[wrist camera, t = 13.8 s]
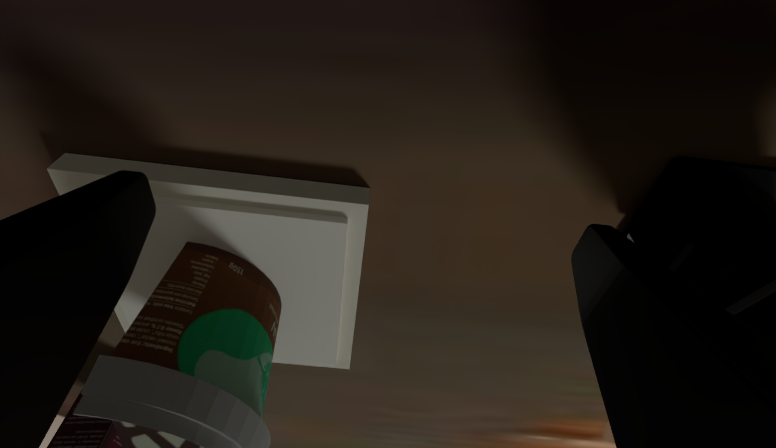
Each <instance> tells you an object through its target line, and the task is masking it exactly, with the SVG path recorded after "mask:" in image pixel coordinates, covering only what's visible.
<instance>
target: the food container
mask: <svg viewBox="0 0 776 448" xmlns="http://www.w3.org/2000/svg"><path fill="white" fill-rule="evenodd" d="M281 306H282V303H281V298H280V295H279V293H278V290H277V288H276V287H275V285H274V284H273V283H272V281H271V280H270V279H269V278H268V277H267V276H266V275H265V274H264V273H263V272H262V271H261V270H259V269H258V268H257V267H256V266H254V265H253V264H251V263H250V262H248V261H246V260H245V259H243V258H241V257H239V256H237V255H235V254H233V253H231V252H228V251H225V250H223V249H220V248H217V247H213V246H209V245H205V244H201V243H194V242H188V241H187V242H186V244H185V245H184V247H183V248H182V250H181V251H180V253H179V254H178V256H177V257H176V259H175V260H174V262H173V263H172V265H171V266H170V268H169V269H168V271H167V272H166V274H165V275H164V276H163V278H162V279H161V281H160V282H159V284H158V285H157V287H156V288H155V290H154V291H153V293H152V294H151V296H150V297H149V299H148V300H147V302H146V303H145V305H144V306H143V308H142V309H141V311H140V312H139V314H138V315H137V317H136V318H135V320H134V321H133V323H132V324H131V326H130V327H129V328H128V330H127V331H126V333H125V334H124V336H123V337H122V339H121V340H120V342H119V343H118V345H117V346H116V348H115V349H114V351H113V352H112V354H111V355H110V356H105V355H99V356H98V358H97V360H96V362H95V364H94V367H93V369H92V371H91V373H90V375H89V377H88V379H87V381H86V383H85V385H84V387H83V389H82V391H81V394H82V395H83V397H82V398H81V400H80V402H79V404H78V405H77V407H76V409H75V411H74V412H73V415H80V416H88V417H97V418H104V419H110V420H111V421H112V423H113V424H114V426H115V428H116V430H117V433H118V436H119V439H120V442H121V445H122V448H269V446H270V437H271V436H270V433H269V430H268V427H267V426H266V424H265V423H264V421H263V420H262V414H263V408H264V403H265V397H266V392H267V386H268V381H269V375H270V370H271V364H272V359H273V353H274V348H275V342H276V337H277V331H278V326H279V320H280V315H281Z"/></svg>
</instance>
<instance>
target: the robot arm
mask: <svg viewBox="0 0 776 448" xmlns="http://www.w3.org/2000/svg"><path fill="white" fill-rule="evenodd" d="M681 165H683V166H682V167H681V168H679V169H677V168H678V167H679V166H681ZM155 215H156V205H155V201H154V198H153V194H152V191H151V187H150V184H149V181H148V178H147V176H146V175H145V174H144V173H142V172H137V171H128V170H120V171H117V172H115V173H112V174H110V175H108V176H105V177H103V178H100V179H98V180H96V181H93V182H91V183H88V184H86V185H84V186H81V187H79V188H77V189H74V190H72V191H69V192H67V193H65V194H62V195H60V196H57V197H55V198H53V199H50V200H48V201H45V202H43V203H41V204H38V205H36V206H34V207H31V208H29V209H26V210H24V211H22V212H19V213H17V214H14V215H12V216H10V217H7V218H5V219H2V220H0V448H39V446H40V445H41V443H42V441H43V439H44V437H45V435H46V434H47V432H48V430H49V428H50V426H51V424H52V423H53V421H54V419H55V417H56V415H57V413H58V412H59V410H60V408H61V406H62V404H63V402H64V401H65V399H66V397H67V395H68V393H69V391H70V390H71V388H72V386H73V384H74V382H75V380H76V379H77V377H78V375H79V373H80V371H81V369H82V367H83V366H84V364H85V362H86V360H87V358H88V356H89V355H90V353H91V351H92V349H93V347H94V345H95V344H96V342H97V340H98V338H99V336H100V334H101V333H102V331H103V329H104V327H105V325H106V323H107V322H108V320H109V318H110V316H111V314H112V312H113V311H114V309H115V307H116V305H117V303H118V301H119V299H120V298H121V296H122V294H123V292H124V290H125V288H126V286H127V284H128V282H129V280H130V278H131V276H132V274H133V271H134V269H135V266H136V264H137V261H138V259H139V256H140V254H141V251H142V249H143V246H144V244H145V241H146V239H147V236H148V234H149V231H150V228H151V226H152V223H153V221H154V218H155ZM571 261H572V269H573V275H574V281H575V287H576V293H577V299H578V306H579V312H580V317H581V322H582V327H583V331H584V335H585V338H586V342H587V345H588V349H589V352H590V356H591V359H592V363H593V366H594V370H595V373H596V377H597V380H598V384H599V388H600V391H601V395H602V398H603V402H604V405H605V409H606V412H607V416H608V419H609V423H610V426H611V430H612V433H613V437H614V440H615V444H616V447H617V448H776V168H772V167H764V166H756V165H748V164H740V163H732V162H724V161H716V160H708V159H700V158H692V157H684V156H683V157H677V158H675V159H673V160H672V161H671V162H670V163H669V164H668V165H667V167H666V168H665V170H664V172H663V173H662V175H661V176H660V178H659V179H658V181H657V182H656V184H655V185H654V187H653V188H652V190H651V191H650V193H649V195H648V196H647V198H646V199H645V201H644V202H643V204H642V205H641V207H640V208H639V210H638V211H637V213H636V214H635V216H634V218H633V219H632V221H631V222H630V224H629V225H628V227H627V228H626V230H625V231H624V233H623V234H622V233H620V232H619V231H618V230H616V229H615V228H613V227H612V226H609V225H600V224H591V225H589V226H588V227H587V228H586V230H585V231H584V233H583V235H582V237H581V238H580V240H579V242H578V244H577V245H576V247H575V249H574V251H573V253H572V260H571Z"/></svg>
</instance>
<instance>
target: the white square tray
mask: <svg viewBox="0 0 776 448" xmlns="http://www.w3.org/2000/svg"><path fill="white" fill-rule="evenodd" d="M47 170H48V172H49V174H50V177H51V179H52V181H53V183H54V185H55V187H56V189H57V191H58V193H59V195H62V194H65V193H67V192H69V191H72V190H74V189H77V188H79V187H81V186H84V185H86V184H88V183H91V182H93V181H96V180H98V179H100V178H103V177H105V176H108V175H110V174H112V173H115V172H117V171H120V170H128V171H137V172H142V173H144V174H145V175H146V176H147V178H148V181H149V184H150V187H151V191H152V194H153V198H154V201H155V205H156V215H155V218H154V221H153V223H152V226H151V228H150V231H149V234H148V236H147V239H146V241H145V244H144V246H143V249H142V251H141V254H140V256H139V259H138V261H137V264H136V266H135V269H134V271H133V274H132V276H131V278H130V280H129V282H128V284H127V286H126V288H125V290H124V292H123V294H122V296H121V298H120V299H119V301H118V303H117V305H116V307H115V309H114V310H115V312H116V314H117V317H118V319H119V321H120V323H121V325H122V327H123V329H124V331H125V333H126V331H127V330H128V328H129V327H130V326H131V324H132V323H133V321H134V320H135V318H136V317H137V315H138V314H139V312H140V311H141V309H142V308H143V306H144V305H145V303H146V302H147V300H148V299H149V297H150V296H151V294H152V293H153V291H154V290H155V288H156V287H157V285H158V284H159V282H160V281H161V279H162V278H163V276H164V275H165V274H166V272H167V271H168V269H169V268H170V266H171V265H172V263H173V262H174V260H175V259H176V257H177V256H178V254H179V253H180V251H181V250H182V248H183V247H184V245H185V244H186V242H187V241H188V242H194V243H201V244H205V245H209V246H213V247H217V248H220V249H223V250H225V251H228V252H231V253H233V254H235V255H237V256H239V257H241V258H243V259H245V260H246V261H248V262H250V263H251V264H253V265H254V266H256V267H257V268H258V269H259V270H261V271H262V272H263V273H264V274H265V275H266V276H267V277H268V278H269V279H270V280H271V281H272V283H273V284H274V285H275V287H276V288H277V290H278V293H279V295H280V298H281V303H282V306H281V315H280V320H279V326H278V331H277V337H276V342H275V348H274V353H273V359H272V362H275V363H286V364H297V365H308V366H319V367H331V368H342V369H349V367H350V359H351V350H352V342H353V333H354V325H355V316H356V308H357V299H358V291H359V282H360V274H361V265H362V257H363V249H364V240H365V232H366V223H367V215H368V206H369V196H370V188H366V187H357V186H348V185H340V184H331V183H322V182H314V181H305V180H296V179H288V178H279V177H270V176H262V175H253V174H244V173H236V172H227V171H218V170H210V169H201V168H192V167H184V166H175V165H166V164H158V163H149V162H140V161H132V160H123V159H114V158H106V157H97V156H88V155H80V154H71V153H64V154H63V155H62V156H61V157H60V158H59V159H57V160H56V161H55V162H54V163H53V164H52V165H50V166H49V167H48V168H47Z"/></svg>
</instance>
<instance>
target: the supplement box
mask: <svg viewBox="0 0 776 448" xmlns="http://www.w3.org/2000/svg"><path fill="white" fill-rule="evenodd" d="M81 391H82V390H81ZM82 397H83V395H82V394H81V392H80V394H79V395H78V397H77V399H76V400H75V402H74V404H73V405H72V407H71V409H70V410H69V412H68V414H67V415H66V417H65V419H64V420H63V422H62V424H61V425H60V427H59V429H58V430H57V432H56V433H55V435H54V437H53V439H52V440H51V442H50V443H49V445H48V447H47V448H122V445H121V442H120V439H119V436H118V433H117V430H116V428H115V426H114V424H113V423H112V421H111V420H110V419H104V418H97V417H88V416H80V415H73V412H74V411H75V409H76V407H77V405H78V404H79V402H80V400H81V398H82Z"/></svg>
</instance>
